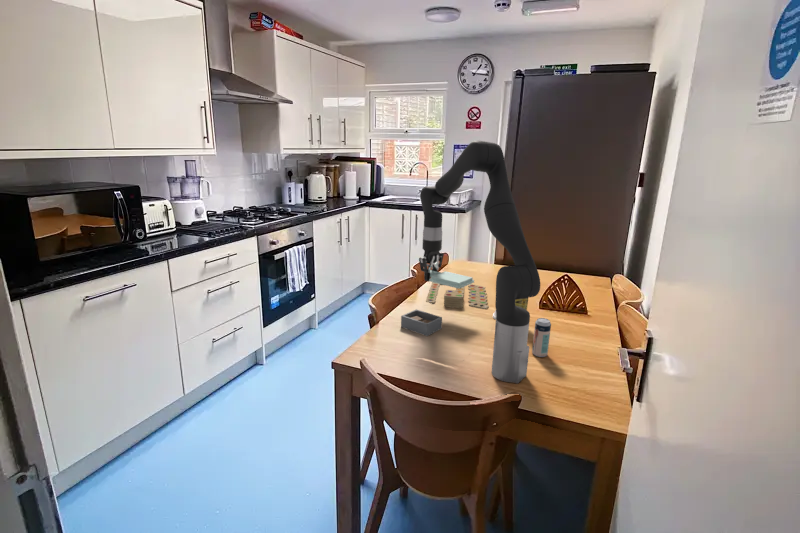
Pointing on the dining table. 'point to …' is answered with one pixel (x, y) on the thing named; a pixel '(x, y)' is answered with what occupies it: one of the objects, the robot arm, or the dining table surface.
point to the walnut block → (417, 318)
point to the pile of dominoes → (460, 296)
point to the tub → (421, 326)
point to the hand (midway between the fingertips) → (430, 279)
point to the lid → (450, 279)
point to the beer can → (541, 337)
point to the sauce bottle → (521, 302)
